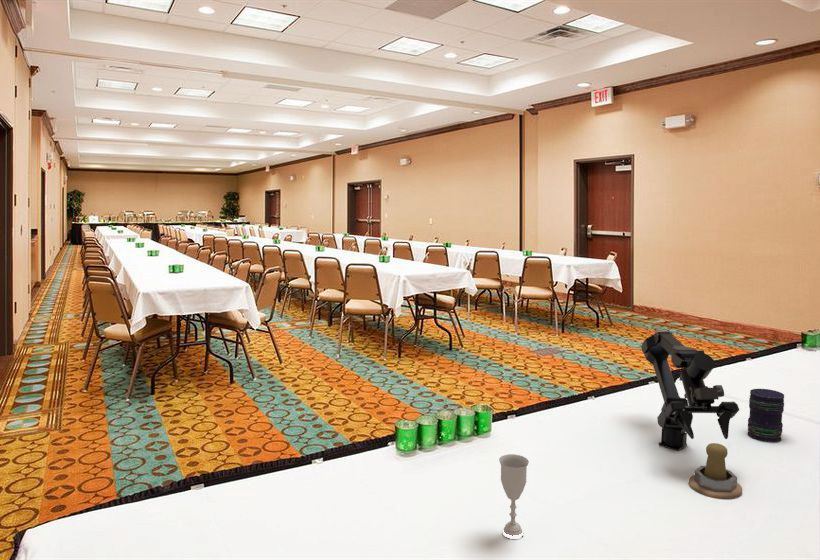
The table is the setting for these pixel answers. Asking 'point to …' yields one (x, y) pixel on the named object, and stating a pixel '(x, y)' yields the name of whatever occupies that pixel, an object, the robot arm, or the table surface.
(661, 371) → the robot arm
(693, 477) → the coupling socket
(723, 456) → the cork
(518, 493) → the chalice
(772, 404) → the storage jar
